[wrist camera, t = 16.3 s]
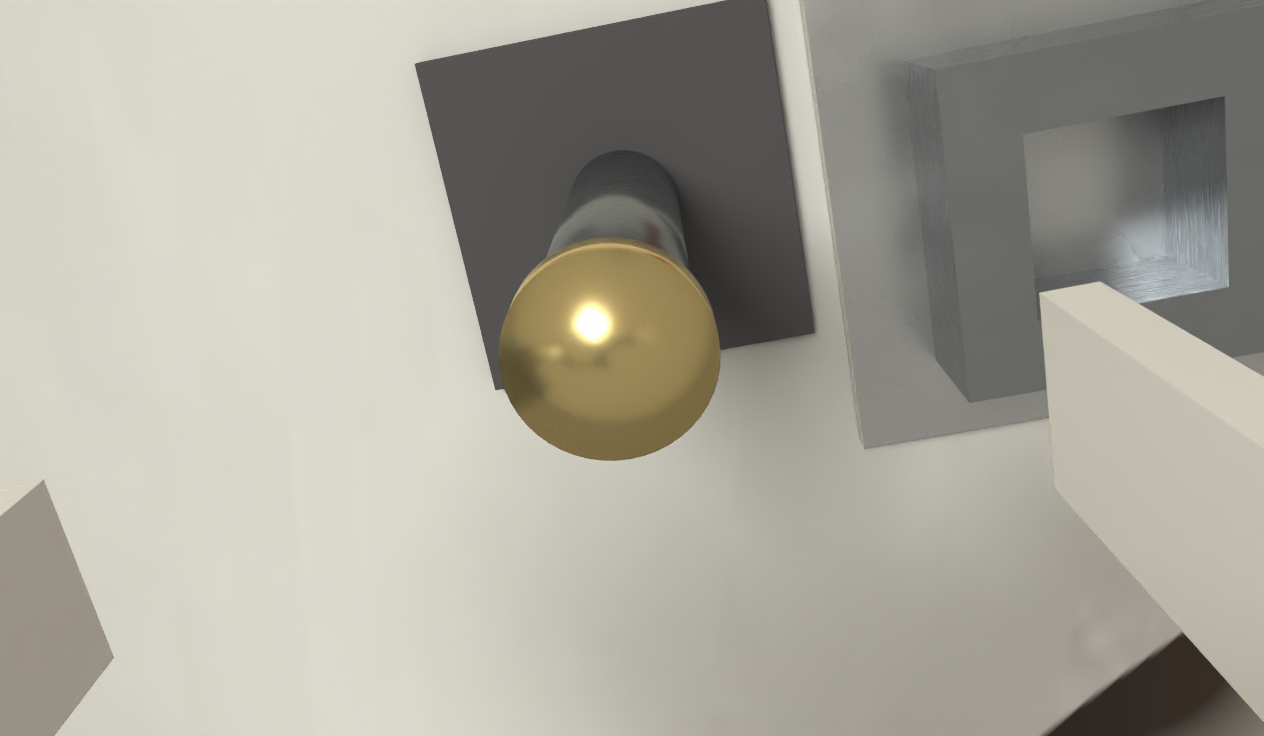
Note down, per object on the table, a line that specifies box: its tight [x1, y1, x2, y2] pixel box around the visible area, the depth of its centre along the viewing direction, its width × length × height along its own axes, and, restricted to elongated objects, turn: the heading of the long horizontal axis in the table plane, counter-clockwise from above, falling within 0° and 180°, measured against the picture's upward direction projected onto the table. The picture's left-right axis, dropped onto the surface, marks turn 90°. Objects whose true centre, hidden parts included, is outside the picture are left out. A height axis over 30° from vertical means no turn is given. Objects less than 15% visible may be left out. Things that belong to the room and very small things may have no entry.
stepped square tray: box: [800, 0, 1264, 449], centre depth 31 cm, size 14×14×4 cm
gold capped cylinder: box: [499, 150, 720, 461], centre depth 26 cm, size 4×4×14 cm
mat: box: [415, 0, 814, 390], centre depth 33 cm, size 10×10×1 cm
